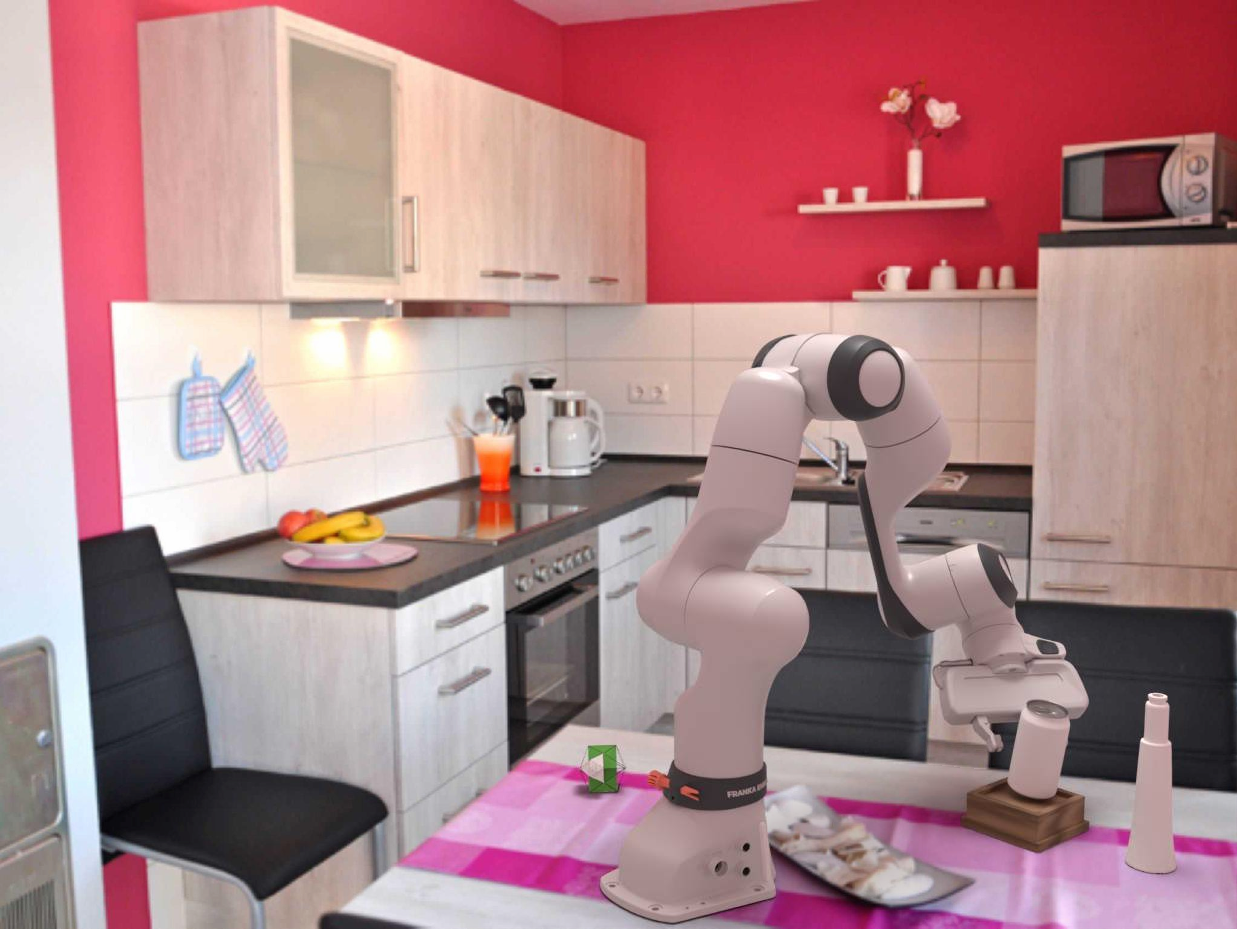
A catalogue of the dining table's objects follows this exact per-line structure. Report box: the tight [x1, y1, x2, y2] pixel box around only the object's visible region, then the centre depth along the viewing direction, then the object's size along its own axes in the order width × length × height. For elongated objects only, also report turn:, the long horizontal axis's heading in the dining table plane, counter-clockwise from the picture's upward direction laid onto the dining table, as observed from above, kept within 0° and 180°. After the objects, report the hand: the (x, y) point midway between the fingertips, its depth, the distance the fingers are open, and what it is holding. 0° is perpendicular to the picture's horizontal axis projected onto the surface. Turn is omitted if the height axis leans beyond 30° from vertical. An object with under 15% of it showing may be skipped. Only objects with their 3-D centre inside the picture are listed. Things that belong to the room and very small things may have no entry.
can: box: [1007, 699, 1071, 800], centre depth 177 cm, size 6×6×12 cm
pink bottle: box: [1124, 692, 1177, 875], centre depth 165 cm, size 6×6×22 cm
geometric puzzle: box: [578, 744, 628, 793], centre depth 193 cm, size 7×7×8 cm
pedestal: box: [960, 776, 1090, 854], centre depth 178 cm, size 12×12×5 cm
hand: (1029, 748), depth 176 cm, fingers open, 8 cm apart
